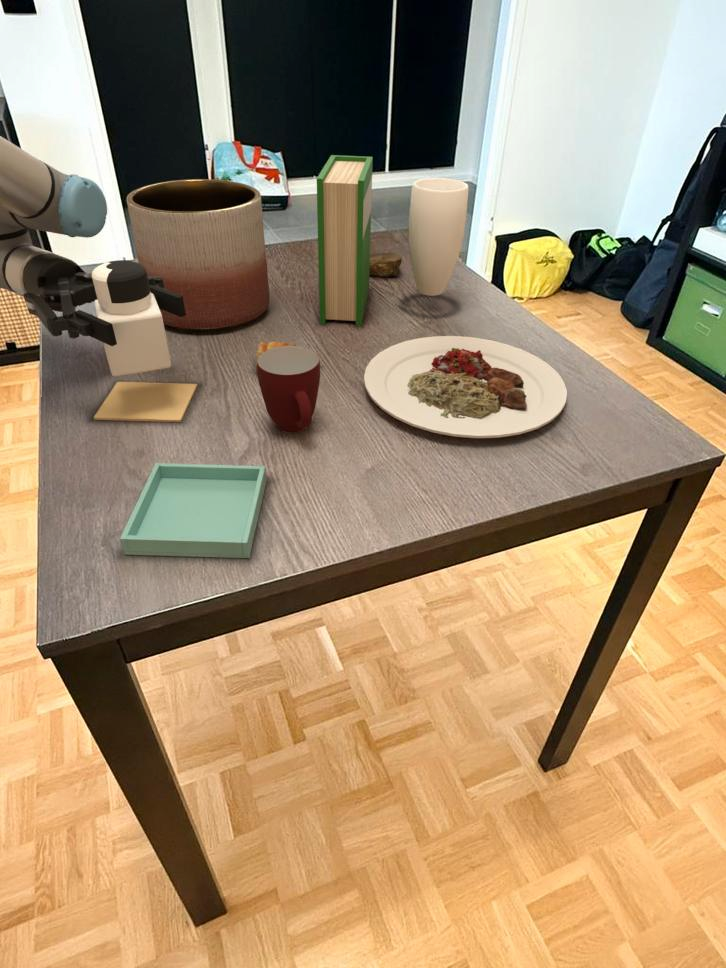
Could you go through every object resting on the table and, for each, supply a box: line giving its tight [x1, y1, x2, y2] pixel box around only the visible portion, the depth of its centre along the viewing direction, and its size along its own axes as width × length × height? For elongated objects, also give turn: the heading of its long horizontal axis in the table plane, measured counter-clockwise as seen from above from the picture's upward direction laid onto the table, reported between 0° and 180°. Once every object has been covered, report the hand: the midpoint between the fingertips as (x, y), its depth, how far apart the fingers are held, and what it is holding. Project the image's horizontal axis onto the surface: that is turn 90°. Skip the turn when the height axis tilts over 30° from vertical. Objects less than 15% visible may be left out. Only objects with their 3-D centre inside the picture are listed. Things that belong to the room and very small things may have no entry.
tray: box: [119, 462, 268, 559], centre depth 70 cm, size 13×13×2 cm
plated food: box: [363, 335, 568, 439], centre depth 93 cm, size 30×30×3 cm
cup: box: [408, 177, 469, 297], centre depth 112 cm, size 10×10×22 cm
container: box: [90, 259, 172, 377], centre depth 81 cm, size 8×8×13 cm
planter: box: [126, 178, 270, 332], centre depth 109 cm, size 22×22×20 cm
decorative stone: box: [369, 252, 403, 279], centre depth 133 cm, size 10×9×4 cm
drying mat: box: [93, 381, 198, 423], centre depth 89 cm, size 12×10×1 cm
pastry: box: [255, 340, 297, 369], centre depth 97 cm, size 9×7×4 cm
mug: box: [256, 345, 321, 434], centre depth 82 cm, size 11×8×10 cm
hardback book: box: [316, 154, 374, 327], centre depth 111 cm, size 18×7×24 cm, turn 175°
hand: (148, 320), depth 79 cm, fingers closed on container, 10 cm apart
